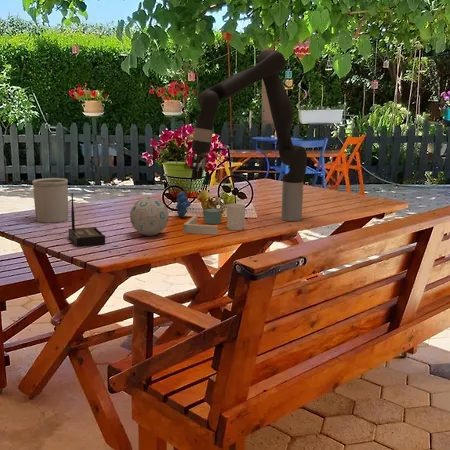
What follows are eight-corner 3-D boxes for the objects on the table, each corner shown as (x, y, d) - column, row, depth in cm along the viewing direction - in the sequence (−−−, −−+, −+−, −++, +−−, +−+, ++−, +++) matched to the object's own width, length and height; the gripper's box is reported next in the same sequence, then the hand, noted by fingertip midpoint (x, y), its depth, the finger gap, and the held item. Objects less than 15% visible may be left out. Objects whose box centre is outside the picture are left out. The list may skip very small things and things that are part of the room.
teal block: (203, 222, 270) (203, 210, 269) (214, 221, 273) (214, 208, 272) (210, 224, 266) (210, 212, 265) (221, 223, 269) (221, 210, 268)
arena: (193, 224, 266) (193, 216, 265) (225, 226, 263) (225, 218, 262) (183, 233, 250) (183, 224, 249) (217, 235, 247) (217, 226, 246)
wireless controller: (110, 245, 230) (108, 200, 227) (72, 248, 225) (70, 202, 221) (97, 233, 248) (96, 191, 244) (62, 236, 242) (60, 193, 239)
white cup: (223, 227, 261) (223, 204, 259) (240, 226, 264) (241, 203, 261) (230, 231, 254) (230, 207, 251) (247, 230, 256) (248, 206, 254)
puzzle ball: (150, 228, 256) (149, 193, 253) (176, 234, 247) (176, 197, 243) (122, 235, 245) (121, 197, 241) (149, 241, 235) (148, 202, 232)
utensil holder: (26, 221, 267) (24, 180, 264) (51, 215, 280) (49, 176, 276) (52, 224, 261) (50, 183, 257) (76, 218, 274) (75, 179, 270)
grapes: (194, 219, 276) (194, 192, 273) (180, 220, 274) (180, 193, 271) (187, 214, 287) (187, 188, 284) (173, 215, 284) (173, 189, 282)
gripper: (207, 141, 244) (201, 181, 247) (215, 141, 258) (209, 180, 261) (188, 138, 246) (183, 178, 248) (197, 139, 259) (192, 177, 262)
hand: (196, 179), depth 254 cm, fingers open, 8 cm apart
